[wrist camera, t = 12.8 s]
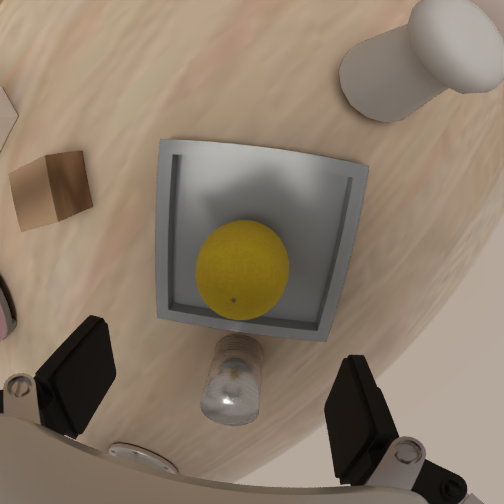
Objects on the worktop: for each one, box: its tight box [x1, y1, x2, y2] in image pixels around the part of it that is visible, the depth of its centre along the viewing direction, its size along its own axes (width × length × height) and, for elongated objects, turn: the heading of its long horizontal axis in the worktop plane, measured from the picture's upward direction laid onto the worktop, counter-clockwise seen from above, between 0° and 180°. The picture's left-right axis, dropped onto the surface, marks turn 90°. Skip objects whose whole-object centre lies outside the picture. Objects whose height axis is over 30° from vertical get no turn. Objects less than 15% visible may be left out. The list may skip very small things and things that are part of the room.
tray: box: [155, 139, 369, 342], centre depth 21 cm, size 14×14×2 cm
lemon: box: [195, 220, 289, 320], centre depth 17 cm, size 6×6×8 cm
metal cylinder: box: [200, 334, 263, 426], centre depth 23 cm, size 4×4×7 cm
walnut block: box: [9, 151, 93, 232], centre depth 19 cm, size 5×5×5 cm
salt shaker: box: [339, 0, 504, 123], centre depth 11 cm, size 6×6×13 cm
